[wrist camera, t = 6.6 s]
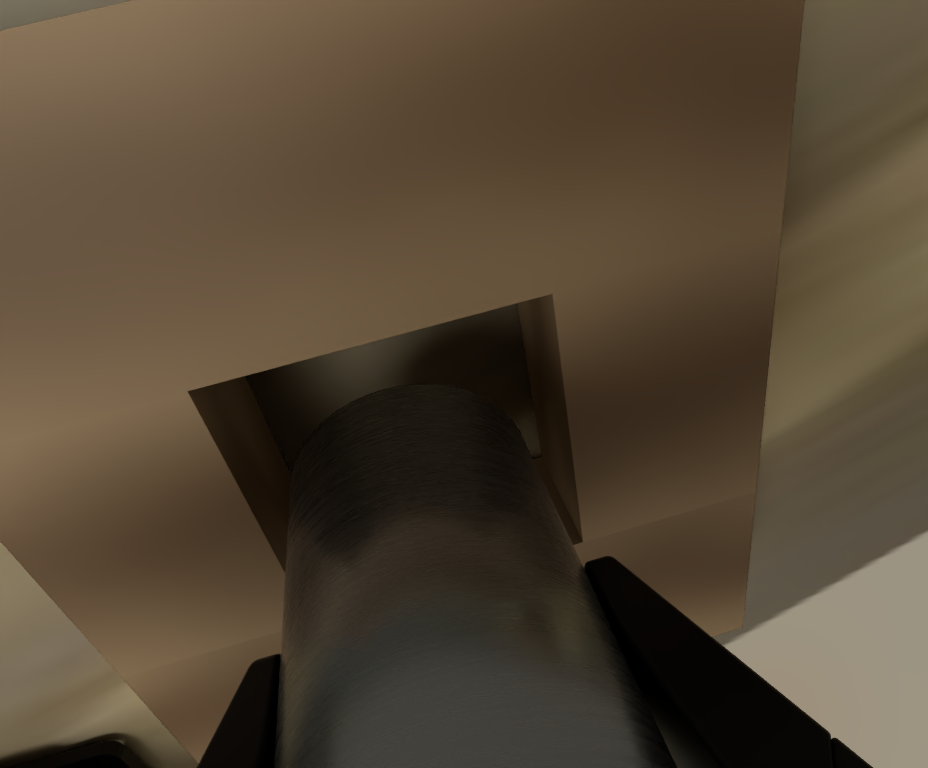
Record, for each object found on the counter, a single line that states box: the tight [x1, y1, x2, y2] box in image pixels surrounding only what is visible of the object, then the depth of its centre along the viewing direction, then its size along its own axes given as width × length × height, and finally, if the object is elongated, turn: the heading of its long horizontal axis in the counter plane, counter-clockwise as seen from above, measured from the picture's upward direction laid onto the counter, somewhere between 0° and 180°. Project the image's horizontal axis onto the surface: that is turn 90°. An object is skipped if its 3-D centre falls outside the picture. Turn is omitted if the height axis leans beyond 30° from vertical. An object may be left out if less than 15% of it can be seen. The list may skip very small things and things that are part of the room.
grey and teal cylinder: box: [274, 384, 677, 768], centre depth 7 cm, size 4×4×10 cm
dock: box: [0, 0, 804, 764], centre depth 13 cm, size 16×14×3 cm
